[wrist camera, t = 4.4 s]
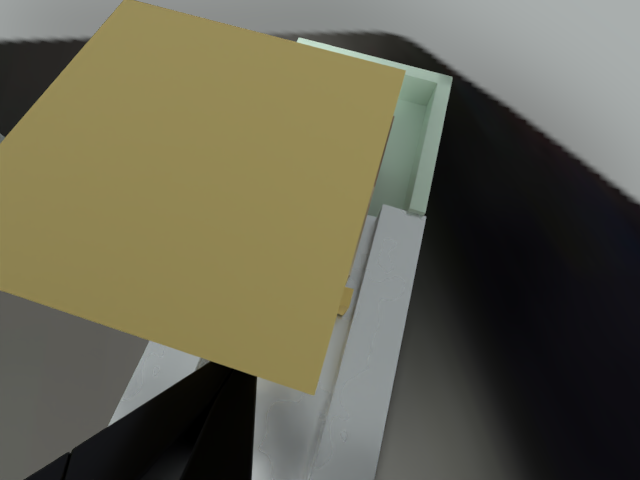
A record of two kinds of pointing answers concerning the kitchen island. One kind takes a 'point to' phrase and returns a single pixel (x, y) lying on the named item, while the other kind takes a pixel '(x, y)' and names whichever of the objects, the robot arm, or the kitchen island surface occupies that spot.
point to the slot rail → (324, 369)
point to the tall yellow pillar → (198, 188)
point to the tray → (408, 136)
